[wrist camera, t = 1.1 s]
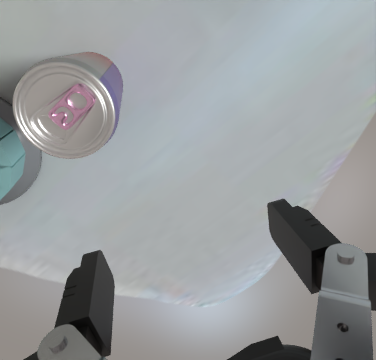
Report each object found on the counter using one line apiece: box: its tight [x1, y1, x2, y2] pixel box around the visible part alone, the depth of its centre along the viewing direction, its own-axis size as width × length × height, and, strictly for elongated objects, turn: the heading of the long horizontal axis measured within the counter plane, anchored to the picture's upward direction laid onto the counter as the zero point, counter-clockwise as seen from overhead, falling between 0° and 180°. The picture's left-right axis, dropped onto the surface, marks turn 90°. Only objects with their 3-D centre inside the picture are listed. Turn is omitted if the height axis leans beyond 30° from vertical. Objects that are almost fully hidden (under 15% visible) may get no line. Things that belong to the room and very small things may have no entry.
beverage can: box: [13, 52, 123, 159], centre depth 23 cm, size 6×6×15 cm
